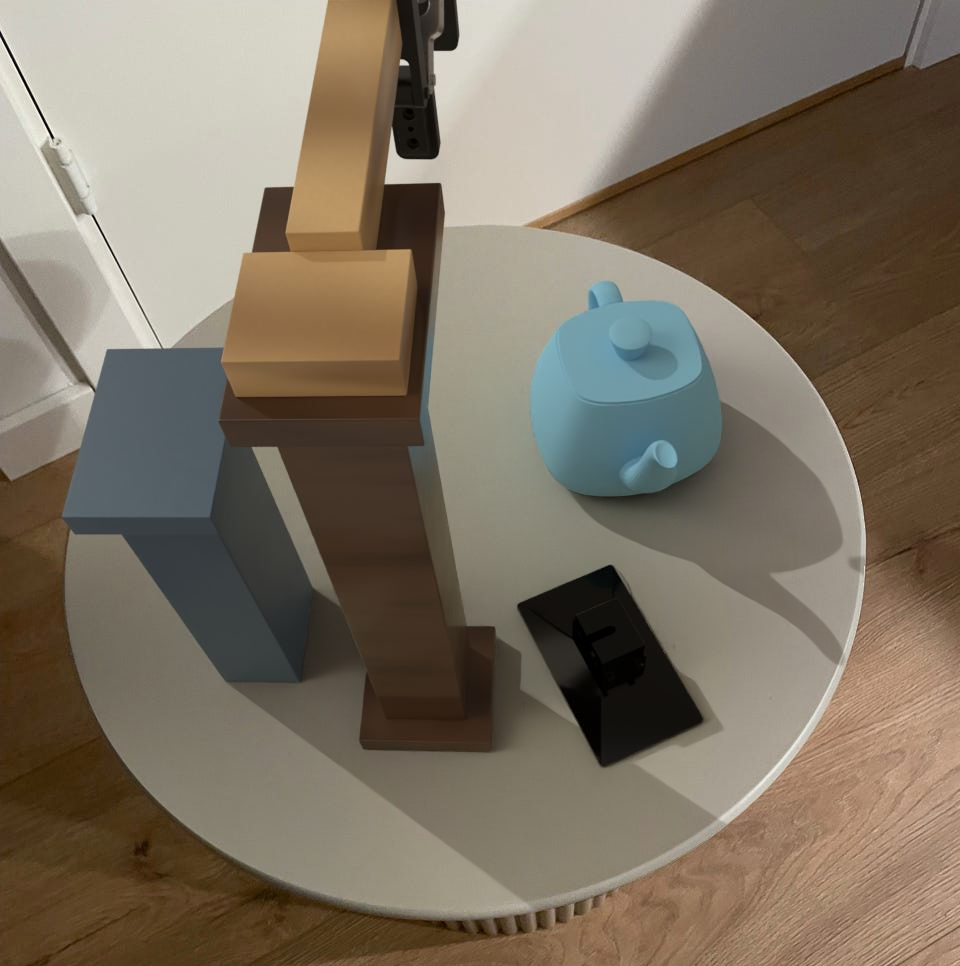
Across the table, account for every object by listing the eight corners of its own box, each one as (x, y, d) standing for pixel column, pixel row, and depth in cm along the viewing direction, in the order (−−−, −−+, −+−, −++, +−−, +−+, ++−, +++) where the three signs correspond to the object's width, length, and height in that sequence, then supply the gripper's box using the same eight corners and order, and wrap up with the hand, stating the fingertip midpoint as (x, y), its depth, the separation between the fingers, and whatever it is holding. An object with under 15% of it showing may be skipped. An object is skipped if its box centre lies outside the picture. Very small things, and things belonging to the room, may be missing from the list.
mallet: (303, 47, 44) (289, -15, 42) (442, 42, 44) (435, -21, 41) (235, 397, 36) (213, 344, 33) (407, 396, 35) (396, 342, 33)
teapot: (567, 482, 59) (505, 259, 67) (566, 576, 68) (512, 371, 76) (782, 439, 59) (694, 223, 67) (751, 539, 69) (678, 339, 77)
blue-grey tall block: (229, 568, 70) (106, 348, 51) (330, 568, 70) (243, 346, 51) (205, 703, 66) (60, 517, 47) (313, 704, 65) (210, 517, 46)
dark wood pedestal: (379, 588, 69) (251, 186, 40) (498, 589, 68) (454, 181, 40) (362, 750, 64) (202, 421, 35) (491, 752, 63) (434, 419, 35)
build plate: (515, 607, 68) (512, 571, 64) (615, 565, 69) (618, 526, 65) (601, 769, 62) (603, 740, 58) (708, 721, 63) (718, 689, 59)
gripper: (319, -365, 43) (379, 15, 58) (251, -182, 37) (338, 193, 52) (496, -373, 43) (512, 15, 57) (457, -188, 36) (486, 195, 51)
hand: (429, 99), depth 54 cm, fingers open, 8 cm apart
